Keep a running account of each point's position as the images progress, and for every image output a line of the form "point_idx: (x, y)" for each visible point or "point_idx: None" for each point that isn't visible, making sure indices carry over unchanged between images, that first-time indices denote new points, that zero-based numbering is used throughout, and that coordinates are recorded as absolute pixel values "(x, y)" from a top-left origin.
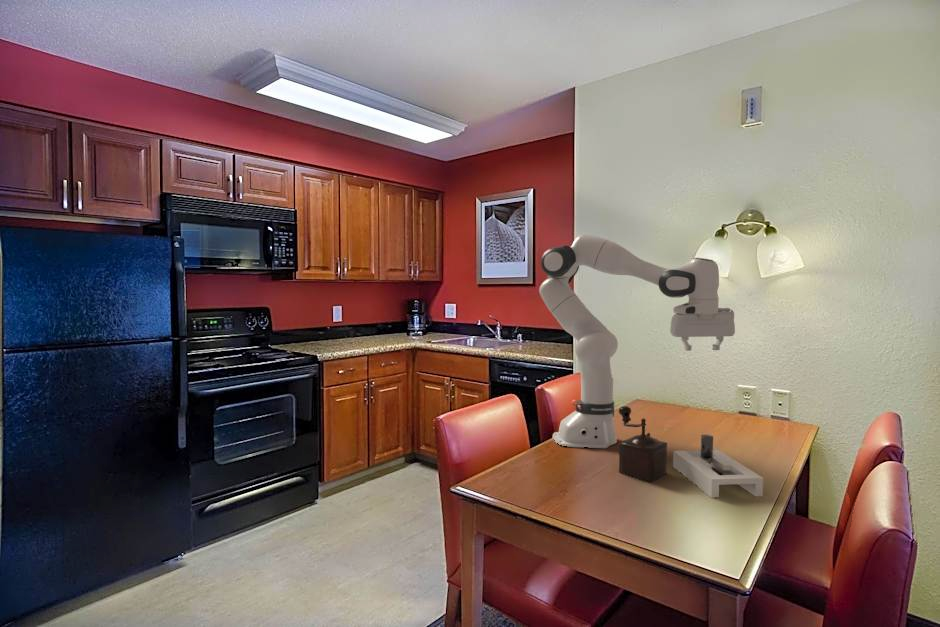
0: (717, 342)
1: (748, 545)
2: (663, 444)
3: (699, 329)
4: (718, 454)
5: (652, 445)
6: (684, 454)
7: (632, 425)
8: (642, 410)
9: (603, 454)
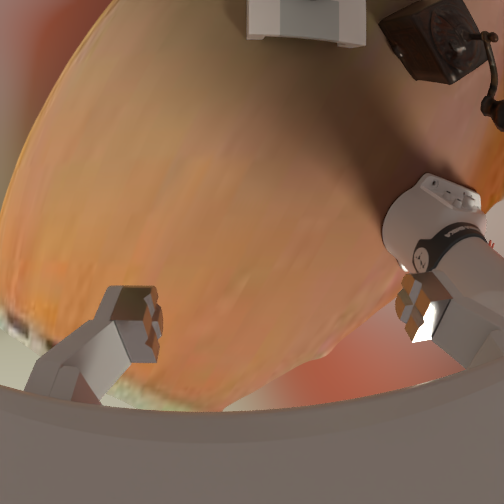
0: (105, 363)
1: None
2: (425, 9)
3: (477, 474)
4: (267, 4)
5: (450, 10)
6: (352, 19)
7: (494, 59)
8: (234, 377)
9: (442, 144)
